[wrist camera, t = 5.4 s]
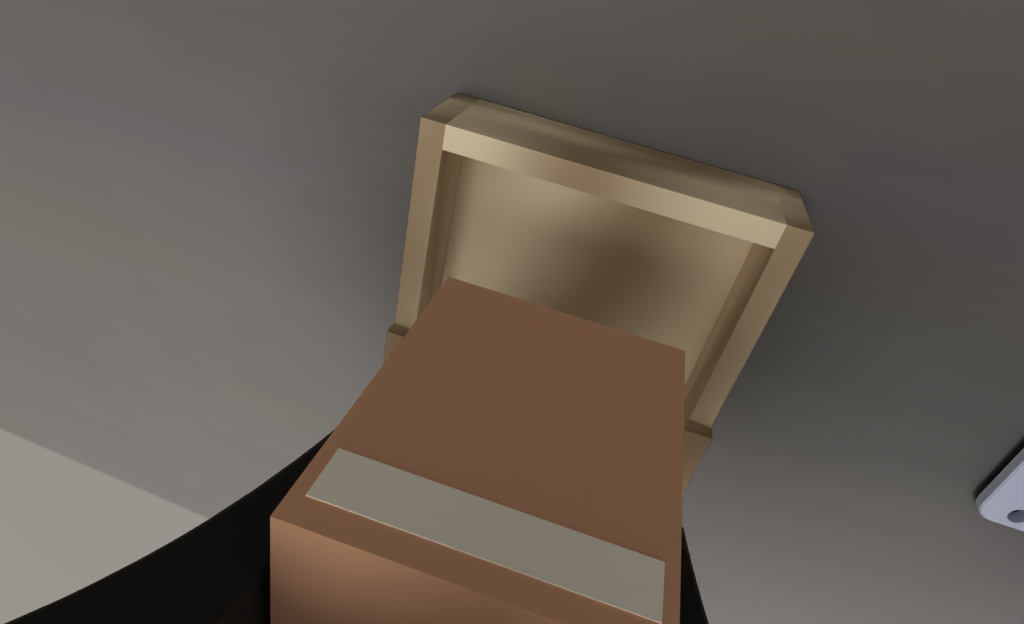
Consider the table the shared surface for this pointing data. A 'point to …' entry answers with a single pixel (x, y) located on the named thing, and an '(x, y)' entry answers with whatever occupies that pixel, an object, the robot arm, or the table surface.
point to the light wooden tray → (601, 239)
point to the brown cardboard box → (494, 479)
